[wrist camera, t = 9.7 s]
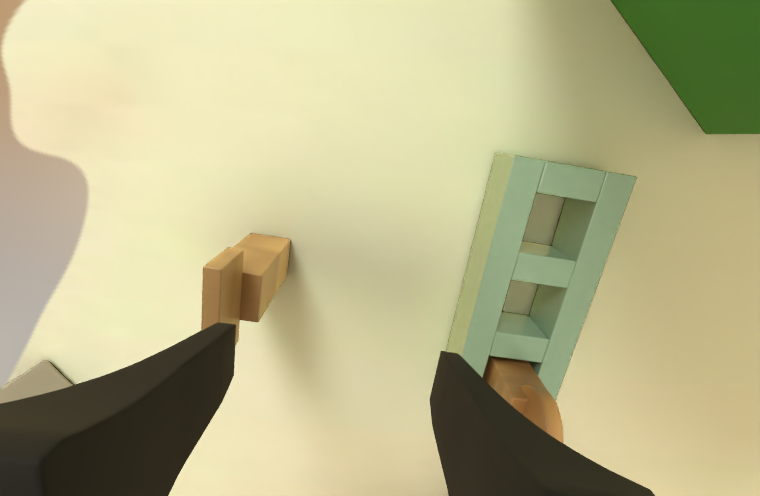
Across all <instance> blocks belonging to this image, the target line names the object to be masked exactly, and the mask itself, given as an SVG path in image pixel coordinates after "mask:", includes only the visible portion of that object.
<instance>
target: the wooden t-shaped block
mask: <svg viewBox="0 0 760 496" xmlns="http://www.w3.org/2000/svg"><path fill="white" fill-rule="evenodd" d="M290 241H291V240H290V239H286V238H280V237H273V236H267V235H260V234H254V233H250V234H249V235H248V236H247V237H245V238H244V239H243V240H242V241H240V242H239V243H238V244H237V245H235V246H234V247H233V248H230V247H228V248H227V249H225V250H224V251H223V252H222V253H220V254H219V255H218V256H216V257H215V258H214V259H213V260H211V261H210V262H209V263H207V264H206V265H205V266H204V267H203V291H202V329H201V331H202V330H204V329H205V328H207V327H209V326H211V325H213V324H215V323H218V322H220V323H228V324H236V337H235V345H236V343H237V342H238V337H239V321H240V320H245V321H252V322H259V320H260V319H261V317H262V315H263V314H264V312H265V310H266V309H267V307H268V306H269V304H270V302H271V301H272V299H273V297H274V296H275V294H276V292H277V291H278V289H279V288H280V286H281V284H282V283H283V281H284V279H285V278H286V276H287V272H288V261H289V251H290Z"/></svg>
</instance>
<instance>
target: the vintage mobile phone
mask: <svg viewBox="0 0 760 496" xmlns="http://www.w3.org/2000/svg"><path fill="white" fill-rule="evenodd" d="M70 386H73V385H72V384H71V383H70V382H69V381H68V380H67V379H66V378H65V377H64V376H63V375H62V374H61V373H60V372H59V371H58V370H57V369H56V368H55V367H54V366H53V365H52V364H51V363H50V362H48V361H42V362H41V363H39V364H37V365H36V366H34V367H33V368H31V369H30V370H28V371H26V372H25V373H23V374H22V375H20V376H18V377H17V378H15V379H14V380H12V381H11V382H9V383H7V384H6V385H4V386H3V387H1V388H0V403H5V402H10V401H15V400H19V399H24V398H28V397H32V396H36V395H41V394H44V393H48V392H52V391H56V390H60V389H63V388H67V387H70Z"/></svg>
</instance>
